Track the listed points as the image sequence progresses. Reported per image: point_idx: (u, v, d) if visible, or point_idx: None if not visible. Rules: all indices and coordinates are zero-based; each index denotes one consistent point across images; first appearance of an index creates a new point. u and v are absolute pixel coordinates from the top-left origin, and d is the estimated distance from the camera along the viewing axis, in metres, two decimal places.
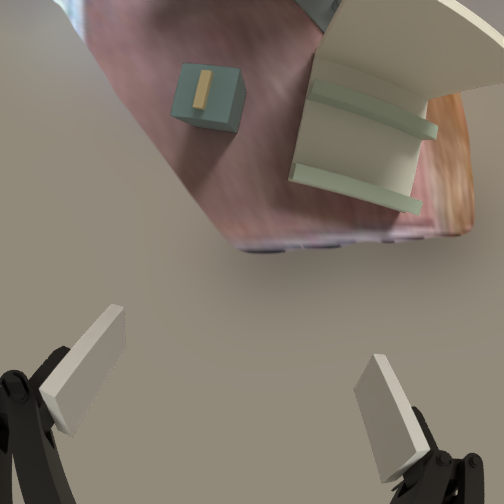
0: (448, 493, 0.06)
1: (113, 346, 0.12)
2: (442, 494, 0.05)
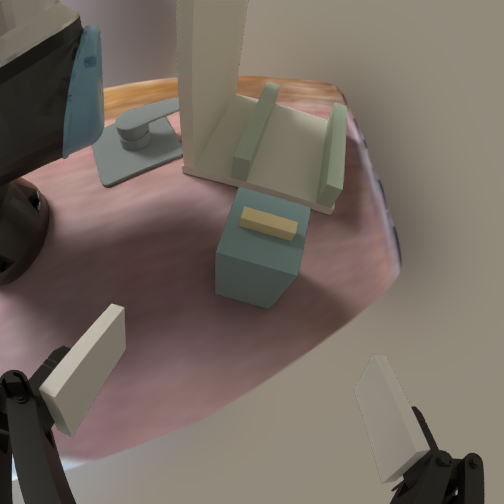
0: (448, 493, 0.06)
1: (113, 346, 0.12)
2: (442, 494, 0.05)
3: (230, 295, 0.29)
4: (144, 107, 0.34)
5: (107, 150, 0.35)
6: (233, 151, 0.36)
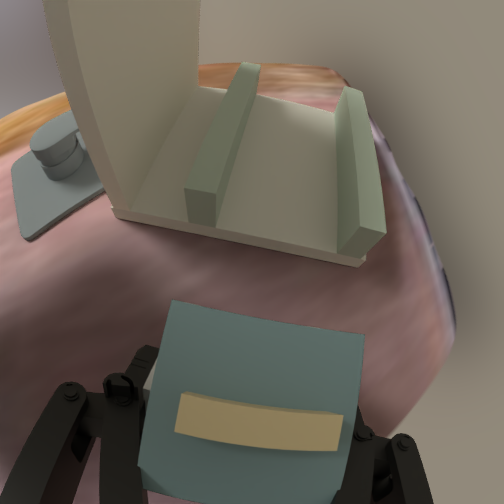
0: (384, 476, 0.08)
1: None
2: (371, 471, 0.07)
3: None
4: (68, 113, 0.20)
5: (29, 184, 0.21)
6: None
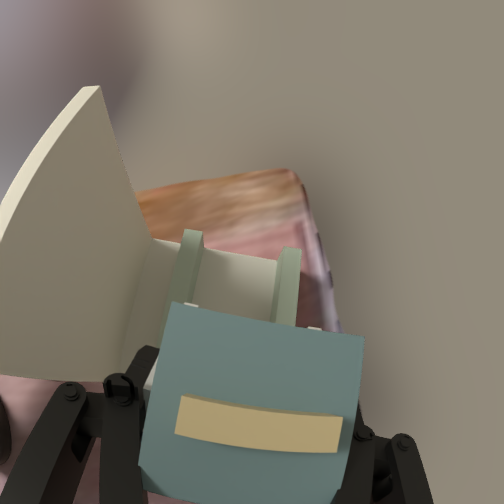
0: (384, 476, 0.08)
1: None
2: (371, 471, 0.07)
3: None
4: None
5: None
6: None
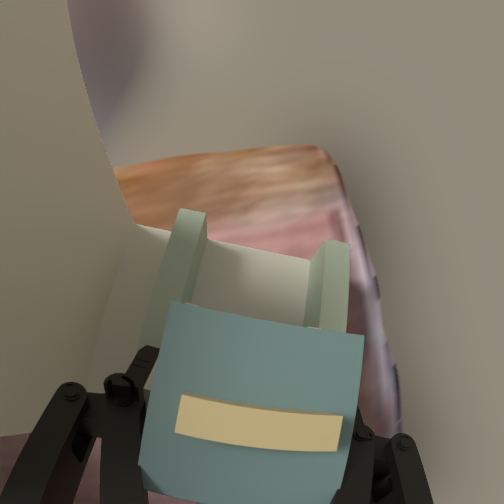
0: (384, 476, 0.08)
1: None
2: (370, 471, 0.07)
3: None
4: None
5: None
6: None
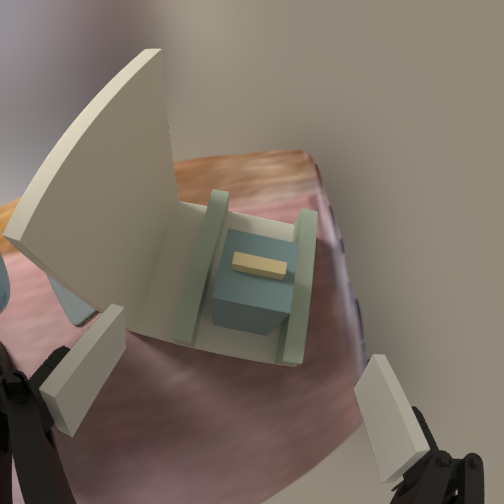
0: (448, 493, 0.06)
1: (113, 346, 0.12)
2: (442, 495, 0.05)
3: (228, 326, 0.30)
4: None
5: None
6: (177, 303, 0.31)
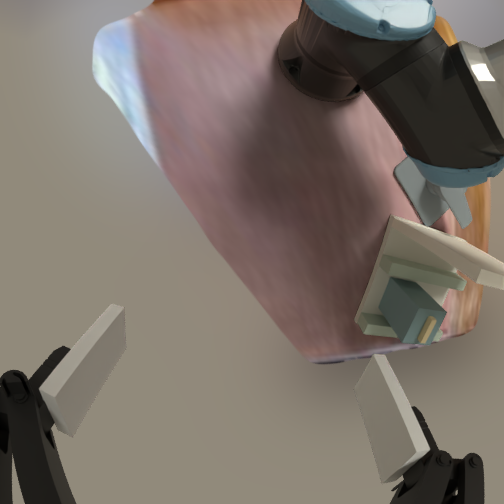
0: (448, 493, 0.06)
1: (113, 346, 0.12)
2: (442, 494, 0.05)
3: (388, 287, 0.44)
4: (460, 192, 0.35)
5: None
6: (406, 254, 0.43)
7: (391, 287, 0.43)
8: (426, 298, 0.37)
